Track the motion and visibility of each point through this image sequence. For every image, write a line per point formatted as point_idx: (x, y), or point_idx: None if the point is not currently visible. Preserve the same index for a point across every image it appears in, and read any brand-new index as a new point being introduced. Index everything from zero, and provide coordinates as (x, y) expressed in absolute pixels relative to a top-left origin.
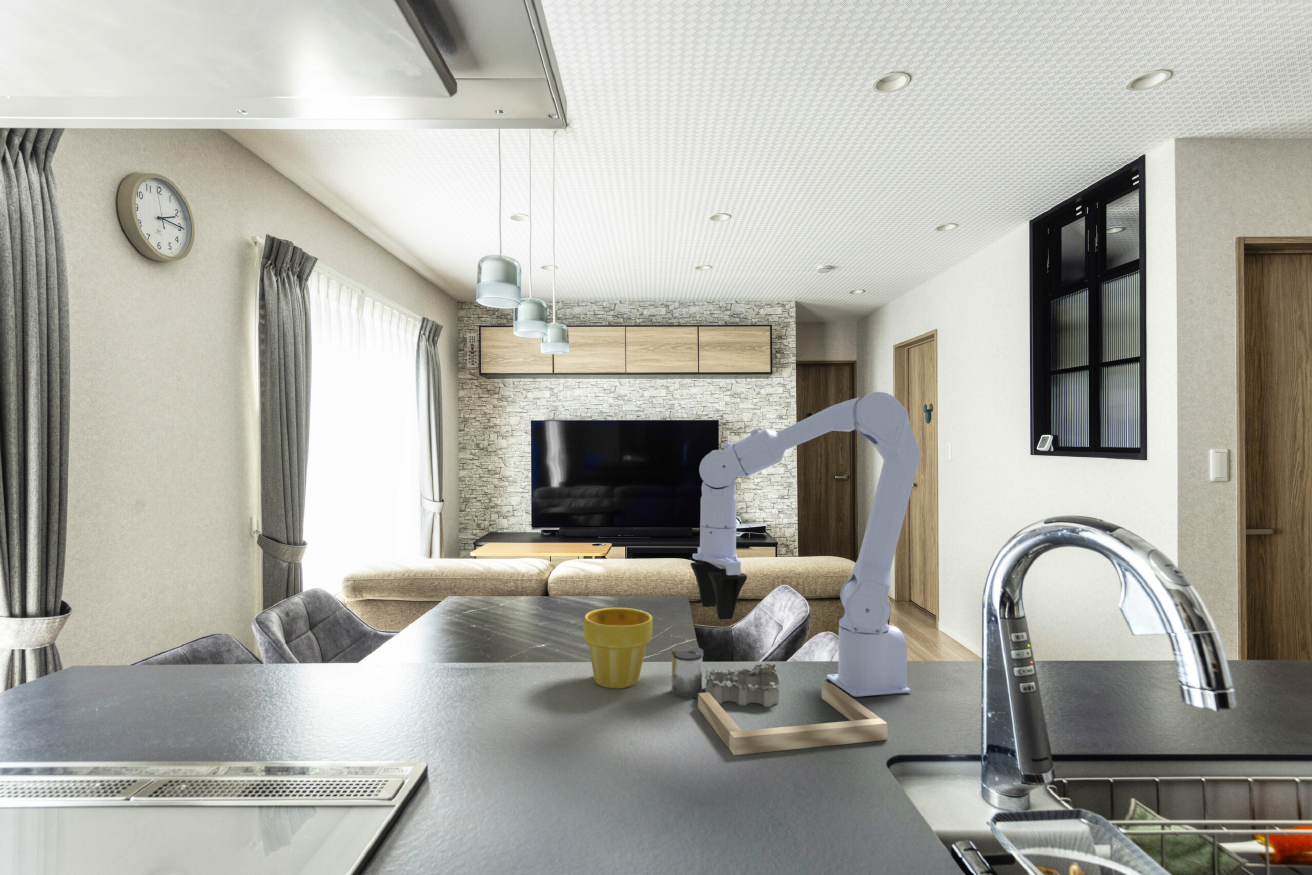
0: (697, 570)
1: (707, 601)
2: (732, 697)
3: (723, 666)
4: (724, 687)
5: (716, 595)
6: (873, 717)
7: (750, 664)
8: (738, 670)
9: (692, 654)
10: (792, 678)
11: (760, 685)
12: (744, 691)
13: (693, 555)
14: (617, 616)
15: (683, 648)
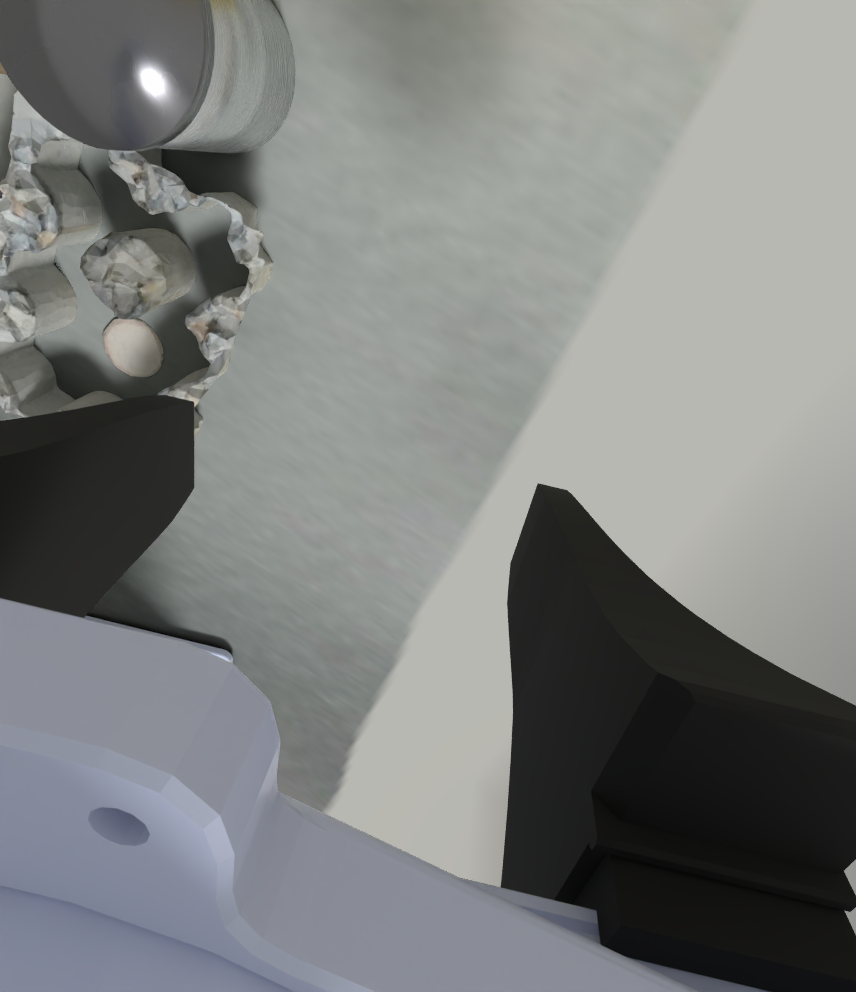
0: (619, 668)
1: (529, 533)
2: (86, 234)
3: (467, 430)
4: (57, 198)
5: (7, 430)
6: None
7: (442, 536)
8: (214, 373)
9: (1, 6)
10: (263, 570)
11: (198, 423)
12: (15, 265)
13: (9, 694)
14: None
15: (136, 8)
